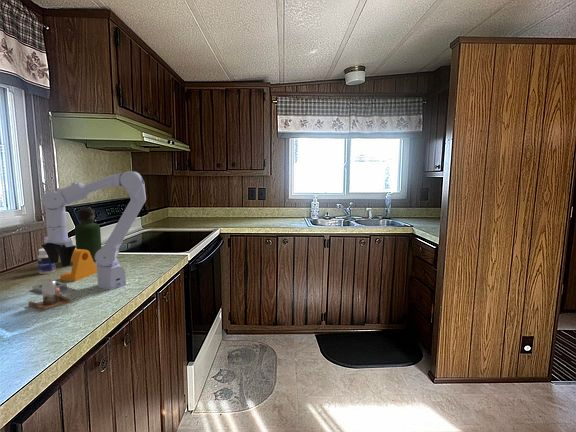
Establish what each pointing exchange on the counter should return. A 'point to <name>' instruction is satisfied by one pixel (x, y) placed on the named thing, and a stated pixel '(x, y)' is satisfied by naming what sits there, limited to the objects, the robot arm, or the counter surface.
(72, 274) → the bracket
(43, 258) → the pill bottle
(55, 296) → the steel round bar
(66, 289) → the socket block
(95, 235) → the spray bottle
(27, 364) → the counter surface
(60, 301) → the brown piece
